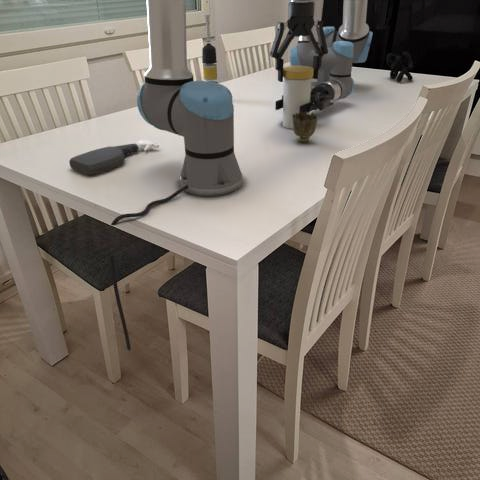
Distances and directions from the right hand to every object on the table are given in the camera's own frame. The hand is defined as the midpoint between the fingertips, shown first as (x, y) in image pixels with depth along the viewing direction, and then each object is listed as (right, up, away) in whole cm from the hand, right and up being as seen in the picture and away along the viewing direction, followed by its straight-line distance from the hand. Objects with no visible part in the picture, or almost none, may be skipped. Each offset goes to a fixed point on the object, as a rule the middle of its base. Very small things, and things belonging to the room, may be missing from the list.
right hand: (288, 108), depth 142 cm
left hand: (+3, +9, -1) cm, 9 cm away
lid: (+3, +11, -3) cm, 12 cm away
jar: (+3, -4, +6) cm, 8 cm away
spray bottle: (-50, -20, -17) cm, 56 cm away
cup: (+4, -12, -8) cm, 15 cm away
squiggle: (+57, +30, +58) cm, 86 cm away
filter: (-27, +15, +37) cm, 48 cm away
